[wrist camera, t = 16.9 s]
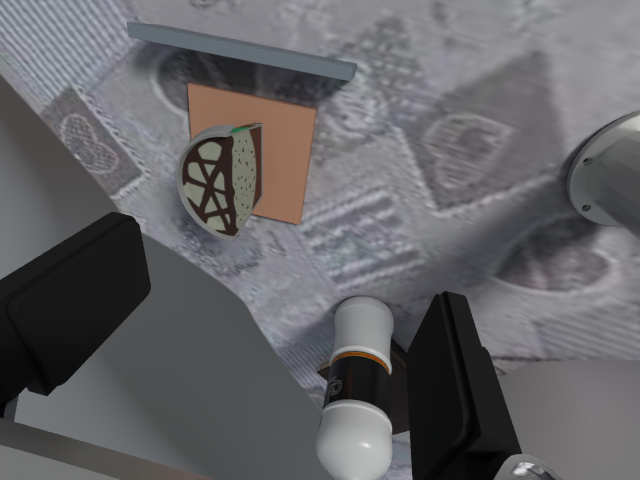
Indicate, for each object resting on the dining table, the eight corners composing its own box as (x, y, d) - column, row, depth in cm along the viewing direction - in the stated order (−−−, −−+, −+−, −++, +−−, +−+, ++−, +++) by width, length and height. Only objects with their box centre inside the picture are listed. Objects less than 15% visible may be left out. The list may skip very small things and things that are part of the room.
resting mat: (317, 108, 36) (315, 110, 35) (300, 221, 44) (299, 224, 43) (192, 82, 37) (187, 83, 36) (199, 197, 45) (195, 200, 44)
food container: (211, 102, 37) (159, 120, 28) (262, 109, 36) (225, 130, 28) (220, 198, 43) (180, 236, 35) (263, 206, 43) (233, 246, 34)
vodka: (391, 337, 53) (394, 603, 28) (336, 331, 54) (292, 577, 29) (396, 296, 48) (406, 572, 23) (335, 290, 49) (283, 543, 24)
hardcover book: (392, 423, 67) (392, 435, 65) (319, 362, 61) (316, 372, 59) (462, 403, 59) (465, 415, 57) (386, 330, 53) (386, 341, 51)
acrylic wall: (357, 63, 33) (352, 66, 29) (354, 76, 33) (350, 81, 29) (158, 24, 34) (126, 22, 30) (159, 37, 35) (129, 37, 31)
